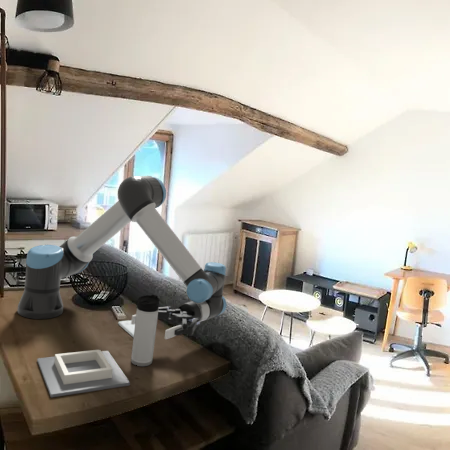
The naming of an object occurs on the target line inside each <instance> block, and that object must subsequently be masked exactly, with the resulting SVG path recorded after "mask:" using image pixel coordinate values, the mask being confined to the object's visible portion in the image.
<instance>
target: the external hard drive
mask: <svg viewBox="0 0 450 450" xmlns="http://www.w3.org/2000/svg"><path fill="white" fill-rule="evenodd" d="M131 321H132V319H131V320H129V319H128V320H121V321H120V320H119V321H118V322H117V325H118V326H120V327H121V328H122V329H123V330H124V331H125V332H127V334H129V335H130V336H131V337H132V339H133V338H134V330H135V324H134V325H132V324H131Z"/></svg>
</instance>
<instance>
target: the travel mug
mask: <svg viewBox="0 0 450 450" xmlns="http://www.w3.org/2000/svg"><path fill="white" fill-rule="evenodd" d="M159 307H160V298H159V296H158V295H155V294H151V295H142V296H140V297H138V299H137V306H136V312H135V315H136V321H135V330H134V338H133V337H132V339H133V341H132V349H131V357H130V358H131V359H130V362H131V363H132V365H135V366H136V365H137V367H148V366H150V365H151V364H152V363H153V357H154V350H155V342H156V336H157V335H156V334H157V333H156V332H157V326H158V325H157V324H158V319H157V318H158V310H159V309H158V308H159Z"/></svg>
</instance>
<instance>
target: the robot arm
mask: <svg viewBox="0 0 450 450" xmlns="http://www.w3.org/2000/svg"><path fill="white" fill-rule="evenodd" d="M166 197H167V190H166V186H165V184H164V183H163V181H162V180H161V179H159V178H157V177H156V176H152V175H142V176H141V175H140V176H139V175H133V176H129V177H127V178H125V179H124V180H122V181H121V183H120V184H119V186H118V189H117V199H118V201H117V202H115V203H114V204H113V205H112V206H111V207H110V208H108V209H107V210H106V211H105V212H104V213H103V214H102V215H101V216H99V217H98V218H97V219H95V220H94V222H92V223H91V224H90V225H89V226H88V227H87V228H85V229H84V230H83V231H82V232H80V234H78V235H77V236H74V235H73V236H70V237H68V239H67V240H65V241H64V242H63V243H62V244H61V245H55V244H44V245H43V244H41V245H36V246H33V247H31V248H30V249H28V251H27V255H26V258H25V277H24V280H25V281H24V288H23V289H24V290H23V292H22V295H21V298H20V300H19V303H18V305H17V315H20V316H21V317H23V318H27V319H33V320H47V319H53V318H57V317H59V316H61V315H62V314H63V312H64V303H63V299H62V296H61V292H60V289H61V280H63V279H64V278H67V277H69V276H73V275H77V274H80V273H81V272H83V271H84V270H85V269H87V267H88V266H89V263H90V262H91V261H92V259H93V258H94V257H93V256H94V255H93V254H94V253H95V252H96V251H98V250H99V249H100V248H101V247H102V246H104V245H106V243H107V242H108V241H109V240H111V239H112V238H113V237H114V236H115V235H117V234H118V233H119V232H120V231H122V230H123V229H124V228H126V226H127V225H129V224H130V223H131V222H132V223H136V224H138V226H139V227H140V229H141V230H142V231H143V232H144V234H145V235H146V236H147V238H148V239H149V240H150V242H151V243H152V245H154V246H155V248H156V249H157V250H158V252H159V253H160V254H161V256H162V257H163V258H164V260H165V261H166V262H167V263H168V265H169V266H170V268H171V269H172V271H174V272H175V274H176V275H177V276H178V278H179V279H180V280H181V281H182V282H183V284H184V286H185V287H186V294H187V297H188V298H189V300H190V301H187V302H184V303H182V304H181V305H180V306H179V307H178V308H175V309H174V308H173V309H171V307H172V306H170V305H167V306H159V308H158V309H159V310H158V318H157V320H165V321H167V322H175V323H178V325H176V326H175V325H174V326H173V327H169V328H167V329H165V333H164V338H163V339H165V340H169V339H171V338H174V337H176V336H177V337H178V336H180V335H186V334H187V336H188V337H191V336H193V335H194V333H195V331H196V329H197V328H198V327H200V324H201V322H204V321H206V320H210V319H212V318H217V317H218V316H220V315H223V314H224V312H225V311H226V309H227V300H226V298H225V297H224V296H223V292H224V287H225V279H226V275H227V274H226V271H227V267H226V265H224V264H223V263H220V262H215V261H214V262H213V261H209V262H206V263H205V264H204V269H203V268H202V267H201V265H200V264H199V263H198V261H197V260H196V259H195V258H194V256H193V255H192V254H191V252H190V251H189V250H188V248H187V247H186V246H185V245H184V244H183V242H182V241H181V239H180V238H179V237H178V236H177V234H176V233H175V232H174V231H173V229H172V228H171V227H170V225H169V224H168V223H167V222H166V220H165V219H164V218H163V217H162V215H161V214H160V213H159V211H158V209H157V208H159V207H160V206H162V205H163V204H164V202H165V200H166ZM131 320H132V321H131V324H132V325H134V324H135V321H136V314H132V315H131Z"/></svg>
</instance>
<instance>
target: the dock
mask: <svg viewBox="0 0 450 450" xmlns="http://www.w3.org/2000/svg"><path fill="white" fill-rule="evenodd" d="M36 361H37V364H38V367H39V370H40V372H41V375H42V378H43V380H44V383H45V386H46V388H47V390H48V394H49V396H50V398H56V397H62V396H69V395H75V394H83V393H88V392H89V393H90V392H95V391H101V390H103V391H104V390H109V389H115V388H116V389H117V388H121V387H128V386H130V385H131V382H130V380H129V378H128V377H127V376H126V375H125V372H123V370H122V369H121V368H120V365H118V363H117V362H116V360H115V359H114V357H113V355H111V353H110V352H109V350H102V351H101V349H93V350H92V349H91V350H83V351H75V352H64V353H55V354H54V356H48V357H46V356H45V357H38V358H36Z"/></svg>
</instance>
